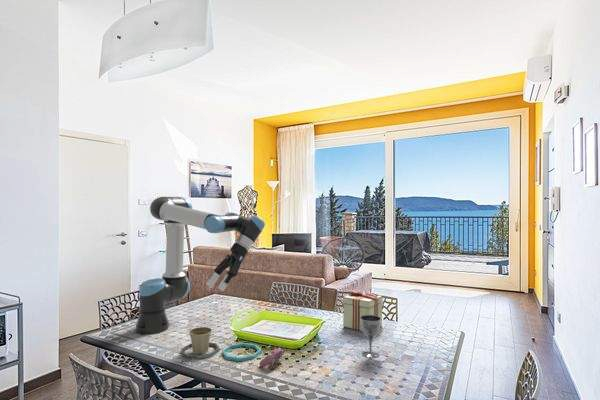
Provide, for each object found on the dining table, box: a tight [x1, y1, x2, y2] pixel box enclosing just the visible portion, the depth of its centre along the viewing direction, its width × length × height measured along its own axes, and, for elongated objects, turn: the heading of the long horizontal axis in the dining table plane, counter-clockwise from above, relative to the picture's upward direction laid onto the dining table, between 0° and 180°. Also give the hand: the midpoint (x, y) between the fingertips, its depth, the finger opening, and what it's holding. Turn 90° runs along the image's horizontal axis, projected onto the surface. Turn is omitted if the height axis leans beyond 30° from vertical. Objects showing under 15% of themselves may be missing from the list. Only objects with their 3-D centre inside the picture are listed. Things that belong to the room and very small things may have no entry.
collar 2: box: [221, 342, 262, 362], centre depth 153 cm, size 15×15×1 cm
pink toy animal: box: [259, 347, 285, 368], centre depth 142 cm, size 10×5×7 cm, turn 148°
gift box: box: [342, 289, 384, 332], centre depth 187 cm, size 17×18×17 cm
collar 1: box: [180, 341, 221, 360], centre depth 154 cm, size 15×15×1 cm
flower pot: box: [188, 326, 213, 355], centre depth 154 cm, size 9×9×9 cm
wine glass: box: [361, 315, 381, 359], centre depth 151 cm, size 8×8×15 cm
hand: (214, 288), depth 158 cm, fingers open, 13 cm apart
